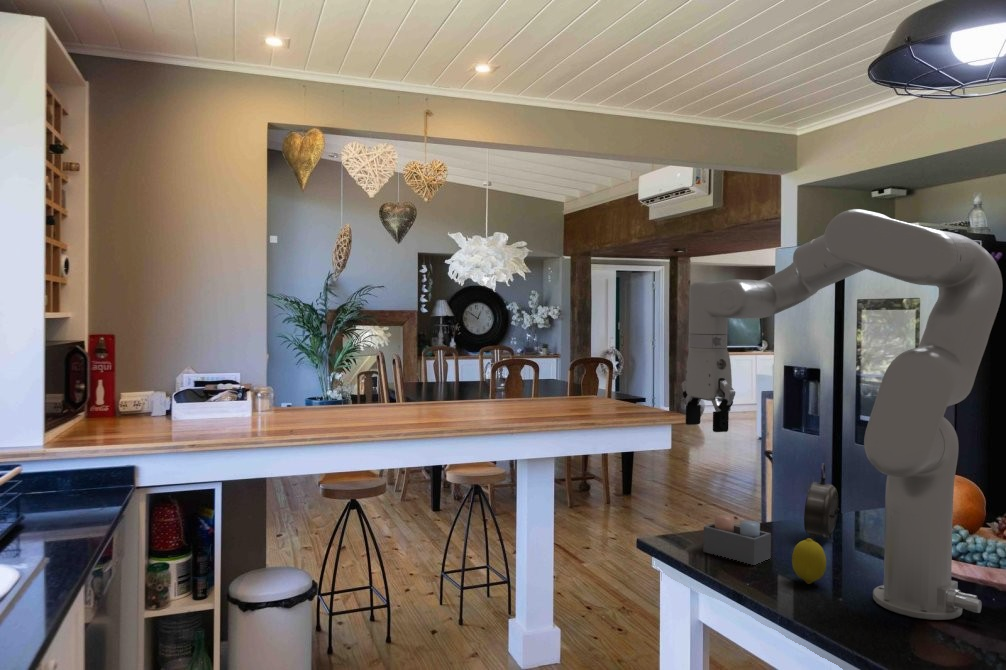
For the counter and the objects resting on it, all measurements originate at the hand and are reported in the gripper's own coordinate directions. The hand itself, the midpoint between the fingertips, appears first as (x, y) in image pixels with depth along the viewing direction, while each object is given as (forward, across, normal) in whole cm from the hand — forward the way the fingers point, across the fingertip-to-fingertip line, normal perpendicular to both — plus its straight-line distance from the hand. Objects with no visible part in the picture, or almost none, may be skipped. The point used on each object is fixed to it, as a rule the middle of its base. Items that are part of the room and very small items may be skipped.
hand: (706, 427), depth 148 cm
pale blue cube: (+21, -9, -4) cm, 23 cm away
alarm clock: (+24, -4, -26) cm, 36 cm away
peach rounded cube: (+21, -4, -2) cm, 22 cm away
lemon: (+24, -23, -6) cm, 34 cm away
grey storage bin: (+24, -7, -3) cm, 25 cm away
